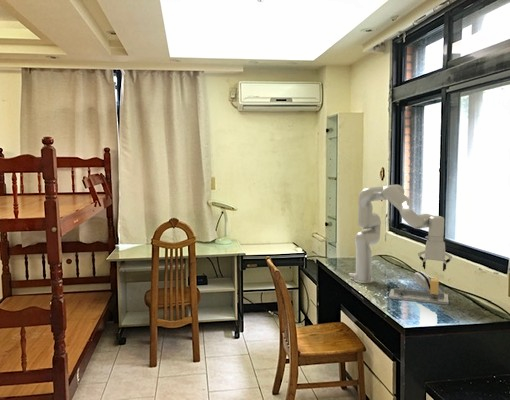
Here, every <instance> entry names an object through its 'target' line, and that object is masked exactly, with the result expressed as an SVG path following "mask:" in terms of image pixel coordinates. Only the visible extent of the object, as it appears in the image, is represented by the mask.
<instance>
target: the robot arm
mask: <svg viewBox="0 0 510 400" xmlns="http://www.w3.org/2000/svg"><path fill="white" fill-rule="evenodd" d="M357 200H358V211H357V226H358V228H360V229H362V230H361V231H358V232H357V233H356V234H355V236H354V245H355V272H354V273H352V272H349V273H348V276H349V277H350V278H352V277H353V279H352V280H353V281H354V282H356V283H359V284H371V283H374V282H375V279H374V278H373V277H372V264H373V263H372V257H373V256H372V249H371V247H370V246H373V245H376V244H377V243H379V241H380V237H381V224H382V221H381V217H380V216H379V214H378V213H376V212H373V204H372V202H375V201H376V202H378V201H385V200H387V201H388V202H389V203H390V204H392V206H393V207H395V208H396V209H397V210H398V212H399V214H400V217H401V218H402V219H403V220H404V221H405V222H406V223H407V224H408V225H409V226H410V227H412V228H413V229H416V230H420V229H427V228H428V235H426V236H425V237H424V238H425V239H427V240H426V242H425V247H424V250H422V251H420V252H418V253H417V256H418V258H419V259H420V260H421V262H422V268H423V270H426V261H427V260H428V261H429V260H430V261H438V262H439V261H440V262H443V263H442V271H443V272H445V271H446V269H447V265H448V263H450V261H452V258H453V256H452V255H451V254H449V253H448V252H446V242H445V241H444V235H445V233H444V232H445V231H444V229H445V217H443V216H440V215H432V214H429V213H421V214H417V213H416V212H415V211H414V210H413V209H411V207H410V204H411V200H410V198H409V197H407V195H405V189H404V187H403V185H400V184H388V185H383V186H382V185H381V186H371V187H366V188H364V189H362V190H361V191H359V194H358V199H357ZM422 255H424V257H423V256H422ZM446 257H447V259H446Z"/></svg>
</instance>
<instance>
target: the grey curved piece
mask: <svg viewBox="0 0 510 400" xmlns="http://www.w3.org/2000/svg"><path fill="white" fill-rule="evenodd" d="M413 276H414V278H415V279H414V280H415V281H416V284H417V285H418V286H421V288H423V289H424V290H425V291H430V282H431V277H430V276H429V275H428V274H427V273H425V272H424V271H422V270H420V271H417V272H414V273H413Z"/></svg>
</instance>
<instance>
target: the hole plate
mask: <svg viewBox="0 0 510 400" xmlns="http://www.w3.org/2000/svg"><path fill="white" fill-rule="evenodd" d="M388 299H392V300H400V301H410V302H411V301H412V302H419V303H429V304H438V305H448V306H449V304H450V303H449V295H448V293H444V297H437V296H435V298H433V296H427V295H417V294H407V293H404V294H403V295H400V294H399V293H397V292H394V288H391V289H390V292H389V295H388Z"/></svg>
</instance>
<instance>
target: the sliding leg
mask: <svg viewBox="0 0 510 400" xmlns="http://www.w3.org/2000/svg"><path fill="white" fill-rule="evenodd" d="M430 280H431V282H430V294H433V298H435V294H436V295H438V292H439V282H440V281H439V277H438V278H436V277H430Z"/></svg>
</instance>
